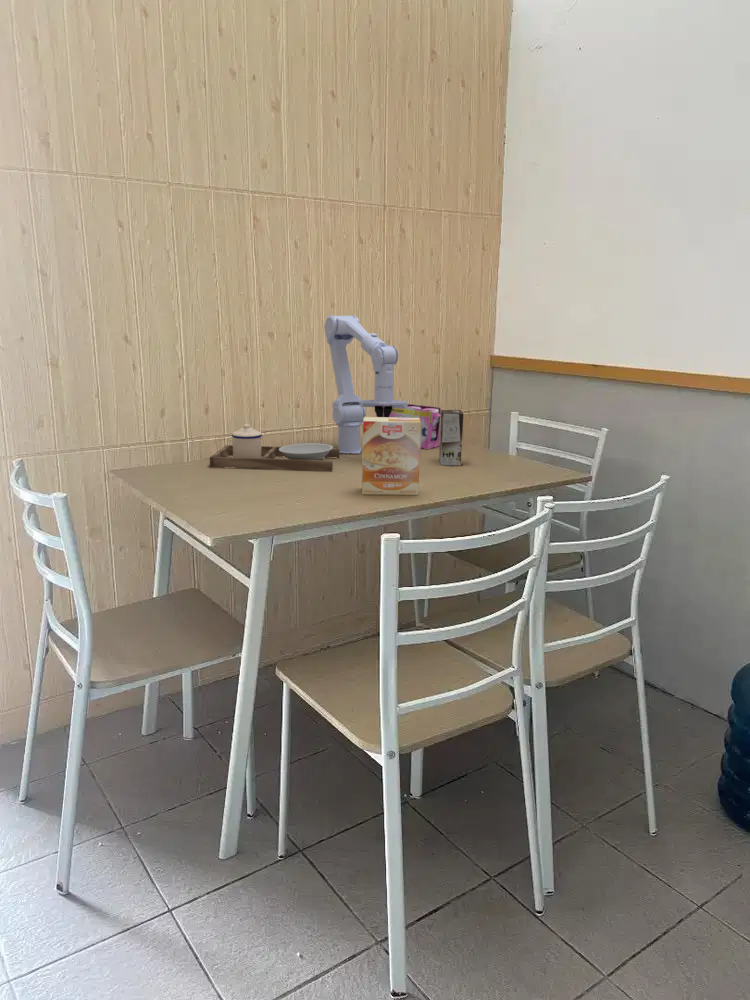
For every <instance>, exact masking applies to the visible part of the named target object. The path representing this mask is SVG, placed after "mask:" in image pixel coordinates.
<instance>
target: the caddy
mask: <svg viewBox="0 0 750 1000" xmlns="http://www.w3.org/2000/svg"><path fill="white" fill-rule="evenodd" d="M281 447H282V446H270V445H269V446H265V445H262V458H234V457H233V444H228V445H227V444H226V445H224V446H223V447H222V448H221V449H219V450H218V451H217V452H215V453H214V454H212V455H211V456H210V457H209V468H210V467H235V468H234V469H241V468H254V469H253V470H272V469H281V470H280V471H302V470H315V471H314V472H333V471H332V470H333V469H334V467H333V463H334V461H333V460H329V459H328V460H324V459H320V460H297V459H288V458H287V459H286V458H277V457H276V456H285V455H284V454H283V453H282V452H280V451H279V448H281ZM340 454H341V453H340V449H338V447H337V448H335V447H333V449H332V450H330V451H329V453H328V454H327V455H326V456H325V457H337V458H339V459H340ZM231 456H232V457H231ZM275 457H276V458H275Z"/></svg>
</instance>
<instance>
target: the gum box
mask: <svg viewBox="0 0 750 1000" xmlns="http://www.w3.org/2000/svg"><path fill="white" fill-rule="evenodd" d="M384 406H390V405H384ZM441 408H442V407H438V406H437V407H436V406H429V405H422V404H421V405H417V404H411V403H408V407H407V408H393V409H392V411H391V414H390V416H389V417H395V418H419V419H420V421H421V443H420V449H423V448H424V450H429V448H430V449H433V447H434V448H437V446H438V447H440V424H441V410H442V409H441ZM375 417H377V415H376V414H375ZM383 417H384V407H383Z"/></svg>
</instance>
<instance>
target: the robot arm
mask: <svg viewBox="0 0 750 1000" xmlns="http://www.w3.org/2000/svg"><path fill="white" fill-rule="evenodd" d="M323 327H324V333H325V336H326V337H325V338H326V343H327V344H328V345H329V351H330V356H331V363H332V367H333V372H334V373H333V374H334V378H335V385H336V390H337V394H338V397H337V398H336V399H335V400H334V401H333V403H332V418H333V419H332V420H333V421H334V424H336V425H337V427H338V429H337V432H338V433H337V434H338V435H337V438H338V439H337V449H340V454H350V453H351V454H352V455H353V454H354V455H360V454H361V453H362V451H363V446H361V437H360V436H361V426H363V417H367V416H366V415H367V411H366V408H374V412H375V416H376V415H377V417H383V407H384V417H389V416H390V414H391V411H392V409H393V408H407V407H408V404H409V403H408V400H406V401H405V400H394V386H395V385H394V383H395V381H394V380H395V378H394V377H395V365H396V364H397V363H398V360H399V351H398V349H397V347H396V346H395V345H388V344H386V342H385V341H384V340H382V339H381V338H379V337H378V334H377V333H372V332H371V333H368V332H369V331H367V330H366V329H365V328H364V327H363V326H362V325H361V322H360V318H358V317H357V316H356V315H354V314H353V315H352V314H351V315H332V314H331V315H328V316H327V318H326V320H325V323H324V326H323ZM354 338H355V339H356V340H357V341H358V342H360V346H361V349H362V350H363V351H365V352H366V353H367V355H369V356H370V359H371V363H372V370H373V371H374V399H361V397H359V396H358V395H357V394H356V393H355V389H354V384H353V379H352V373H351V368H350V363H349V358H348V352H347V346H348V345H349V344H350V343H352V341H353V340H354ZM384 405H390V406H384Z"/></svg>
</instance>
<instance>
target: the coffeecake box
mask: <svg viewBox="0 0 750 1000" xmlns="http://www.w3.org/2000/svg"><path fill="white" fill-rule="evenodd" d="M420 443H421V421H420V419H419V418H395V417H376V416H366V417H363V422H362V451H361V453H362V454H361V455H362V459H361V461H362V462H361V495H379V496H380V495H383V496H385V495H387V496H388V495H390V496H393V495H394V496H419V492H420V491H419V489H420V467H421V466H420V465H421V464H420V463H421V448H420Z"/></svg>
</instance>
